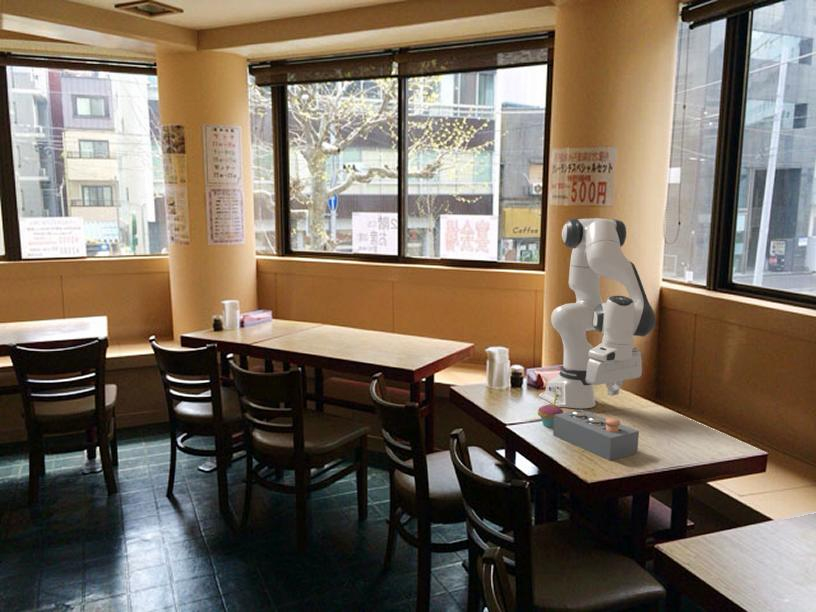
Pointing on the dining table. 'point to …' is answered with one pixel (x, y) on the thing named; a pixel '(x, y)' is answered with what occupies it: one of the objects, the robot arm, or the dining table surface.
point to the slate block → (596, 436)
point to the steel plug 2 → (595, 420)
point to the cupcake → (549, 413)
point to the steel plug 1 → (578, 414)
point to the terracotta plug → (612, 425)
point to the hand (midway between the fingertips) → (613, 394)
